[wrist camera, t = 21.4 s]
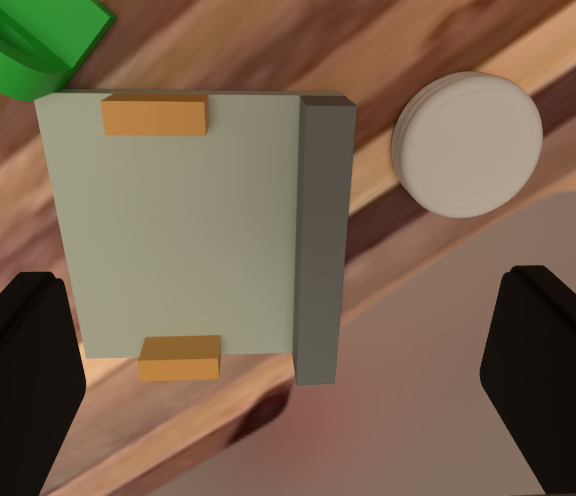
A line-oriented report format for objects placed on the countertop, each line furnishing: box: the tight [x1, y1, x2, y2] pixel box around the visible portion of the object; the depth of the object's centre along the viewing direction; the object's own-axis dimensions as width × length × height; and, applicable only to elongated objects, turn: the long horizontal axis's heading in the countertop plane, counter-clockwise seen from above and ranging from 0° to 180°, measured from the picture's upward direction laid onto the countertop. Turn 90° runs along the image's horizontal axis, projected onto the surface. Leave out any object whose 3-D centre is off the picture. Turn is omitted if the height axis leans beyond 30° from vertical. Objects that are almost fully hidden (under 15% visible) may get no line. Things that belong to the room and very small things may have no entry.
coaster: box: [391, 71, 543, 218], centre depth 34 cm, size 10×10×4 cm
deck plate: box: [34, 89, 357, 385], centre depth 35 cm, size 20×21×6 cm
